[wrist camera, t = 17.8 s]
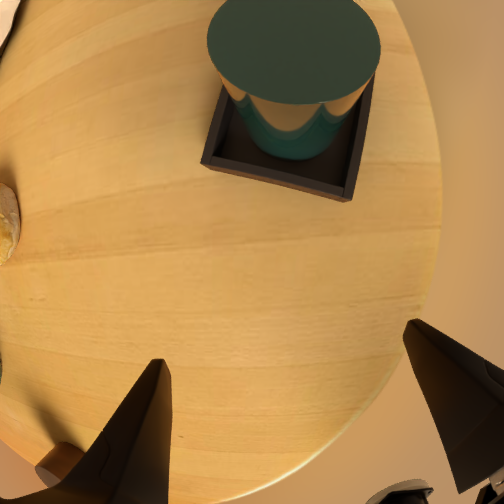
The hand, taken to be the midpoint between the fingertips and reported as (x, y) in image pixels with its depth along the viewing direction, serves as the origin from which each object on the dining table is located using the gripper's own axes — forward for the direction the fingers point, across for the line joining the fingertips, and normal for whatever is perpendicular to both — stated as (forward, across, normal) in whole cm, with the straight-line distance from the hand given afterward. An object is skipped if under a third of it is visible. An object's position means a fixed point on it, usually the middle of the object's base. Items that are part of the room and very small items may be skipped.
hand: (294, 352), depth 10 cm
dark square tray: (+13, -3, -6) cm, 15 cm away
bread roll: (+17, +26, -1) cm, 31 cm away
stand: (+4, +26, +27) cm, 38 cm away
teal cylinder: (+13, -3, -6) cm, 14 cm away
